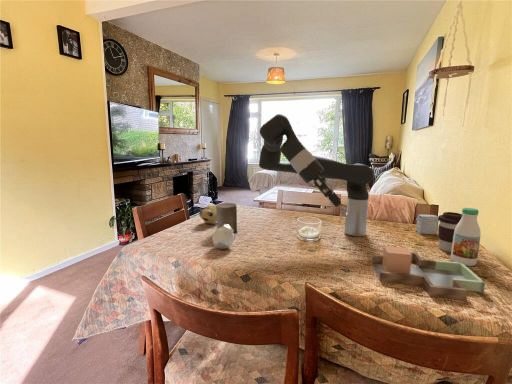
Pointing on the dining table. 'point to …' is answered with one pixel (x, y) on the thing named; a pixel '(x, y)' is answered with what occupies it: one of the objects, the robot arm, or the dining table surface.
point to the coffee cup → (447, 229)
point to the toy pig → (209, 214)
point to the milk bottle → (466, 238)
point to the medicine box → (427, 224)
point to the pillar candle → (227, 215)
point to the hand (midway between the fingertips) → (338, 203)
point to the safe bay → (472, 279)
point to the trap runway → (425, 278)
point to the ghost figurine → (223, 237)
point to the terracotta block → (396, 260)
